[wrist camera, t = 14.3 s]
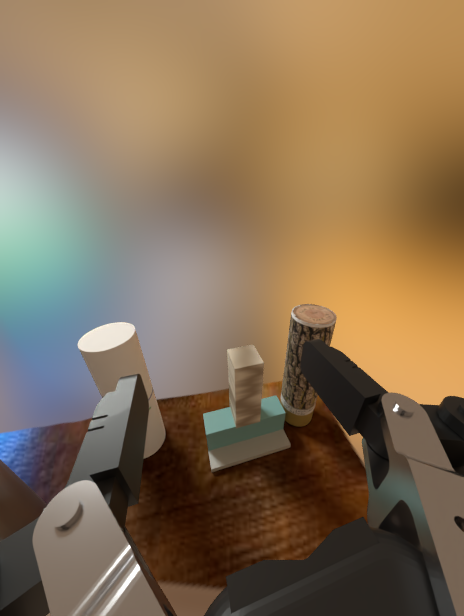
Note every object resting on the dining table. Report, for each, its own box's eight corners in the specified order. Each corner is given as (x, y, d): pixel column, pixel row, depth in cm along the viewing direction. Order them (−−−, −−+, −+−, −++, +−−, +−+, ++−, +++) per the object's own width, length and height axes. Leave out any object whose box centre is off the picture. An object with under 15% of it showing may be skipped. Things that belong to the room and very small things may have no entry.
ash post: (236, 428, 35) (234, 369, 29) (229, 406, 39) (227, 349, 33) (260, 421, 36) (263, 362, 30) (251, 400, 40) (253, 344, 34)
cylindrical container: (171, 423, 43) (144, 323, 31) (155, 461, 36) (115, 353, 25) (139, 419, 44) (102, 321, 32) (119, 456, 37) (63, 350, 26)
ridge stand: (211, 472, 35) (208, 453, 32) (203, 419, 43) (201, 400, 41) (290, 447, 38) (293, 428, 35) (268, 402, 47) (270, 384, 44)
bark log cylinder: (318, 423, 42) (346, 320, 30) (289, 432, 40) (307, 328, 29) (299, 396, 48) (317, 301, 36) (273, 404, 46) (284, 307, 35)
